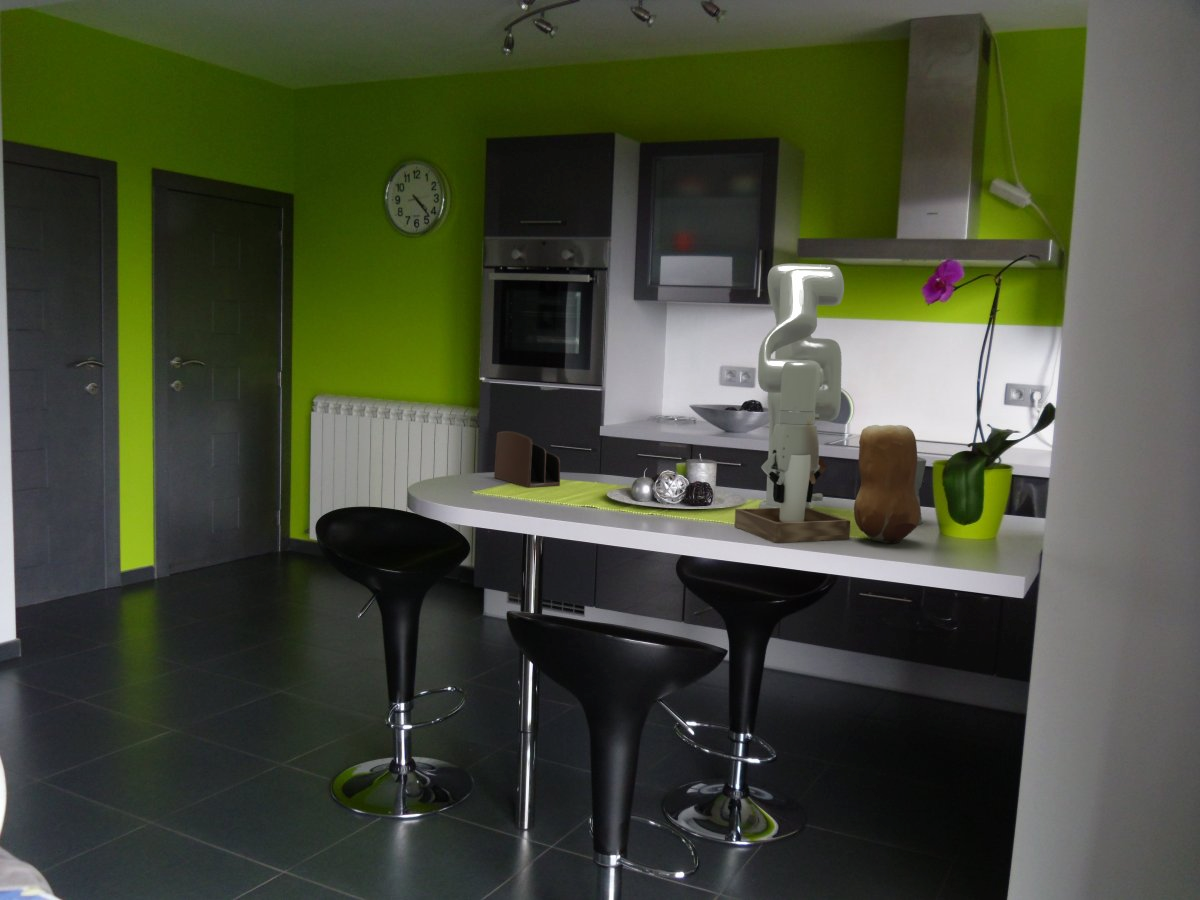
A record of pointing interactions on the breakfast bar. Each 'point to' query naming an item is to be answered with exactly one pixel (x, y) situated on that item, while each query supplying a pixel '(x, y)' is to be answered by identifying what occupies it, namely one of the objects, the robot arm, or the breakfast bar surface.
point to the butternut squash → (887, 483)
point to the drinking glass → (795, 489)
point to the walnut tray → (792, 525)
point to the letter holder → (525, 462)
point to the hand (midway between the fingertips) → (792, 500)
